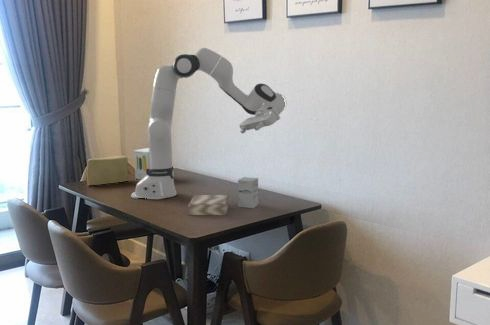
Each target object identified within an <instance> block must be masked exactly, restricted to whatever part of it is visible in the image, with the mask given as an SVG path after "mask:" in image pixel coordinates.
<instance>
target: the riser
mask: <svg viewBox="0 0 490 325" xmlns="http://www.w3.org/2000/svg"><path fill="white" fill-rule="evenodd" d="M229 201H230V200H229V195H228V194H197V195H196V194H194V195H193V196H192V198H191V200H190V202H188V204H187V205H188V206H187V207H188V208H187V209H188V211H187V212H188V213H187V214H188V216H212V215H213V216H227V213H228V209H229V206H230V202H229Z"/></svg>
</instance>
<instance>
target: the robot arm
mask: <svg viewBox="0 0 490 325" xmlns="http://www.w3.org/2000/svg"><path fill="white" fill-rule="evenodd" d="M197 71H201V72H204V74H207V75H208V76H209V77H211V78H212V79H213V80H214V81H215V82H217V85H218V87H219V88H220V89H221V90H222V91H223V92H224V93H225V94H226V95H227V96H228V97H230V98H231V99H233V101H235V102H236V103H237V104H238V105H239V106H240V107H241V108H242V109H243V110H244V111H245V112H246V113H247V114H250V115H251V116H250V117H248V118H246V119H245V120H243V121H241V123H240V124H239V128H240V131H239V132H240V133H241V134H245V133H247V131H250V130H255V132H256V131H259V130H260V129H262V128H264V127H265V128H266V127H268V126H271V125H273V124H275V123H276V122H277V121H279V120H280V119H281V117H280V114H282V112H283V111H284V110H285V108H286V106H285V102H284V98H283V97H282V95H283V94H282V93H280V94H279V92H275V91H274V90H273V89H272V88H271V87H270V86H269V85H267V84H265V83H257V84H256V85H254V87H253V89H252V90H251V91H250V93H249V94H246V93H245V92H243V91H242V90H241V89H240V88H239V87H237V85H235V82H234V80H233V78H234V77H233V76H234V68H233V65H232V63H231V62H230V61H229V59H227V58H226V57H224V56H223V55H220V54H219V53H217V52H216V51H214V50H211V49H208V48H206V47H202V48H200V49H199V50H197V52H196V53H195V54H183V53H182V54H179V55H178V56H176V57H175V58H174V60H173V63H172V65H162V66H159V68H157V70H156V72H155V76H154V80H153V85H152V86H153V87H152V92H151V102H150V112H149V120H148V121H149V122H148V126H147V140H148V141H147V142H148V143H147V144H148V145H147V146H148V148H149V158H150V167H148V168H147V169H146V174H147V175H146V176H145V177H144V178H143V179H141V180H138V182H137V183H136V185H135V191H133V192H132V193H131V195H130V198H131V197H132V198H131V199H138V198H145V199H144V200H162V199H166V198H172V197H175V196H176V195H178V193H177V190H176V185H175V181H174V178H175V172H174V171H175V170H174V166H173V153H172V150H173V149H172V148H173V147H172V121H173V117H174V116H173V115H174V109H175V101H176V100H175V99H176V94H177V87H178V86H177V85H178V82H179V80H180V79H187V78H191V77H192V76H193V75H194V74H195V73H196V72H197ZM281 94H282V95H281ZM284 107H285V108H284ZM146 198H147V199H146Z"/></svg>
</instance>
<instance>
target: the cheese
mask: <svg viewBox="0 0 490 325" xmlns="http://www.w3.org/2000/svg"><path fill="white" fill-rule="evenodd" d="M86 163H87V164H86V178H87V179H86V181H87V186H88V185H93V184H100V183H111V182H120V181H128V180H129V164H128V156H126V155H125V156H124V155H122V154H121V155H113V156H105V157H99V158H89V159H87V162H86ZM128 182H129V181H128Z"/></svg>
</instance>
